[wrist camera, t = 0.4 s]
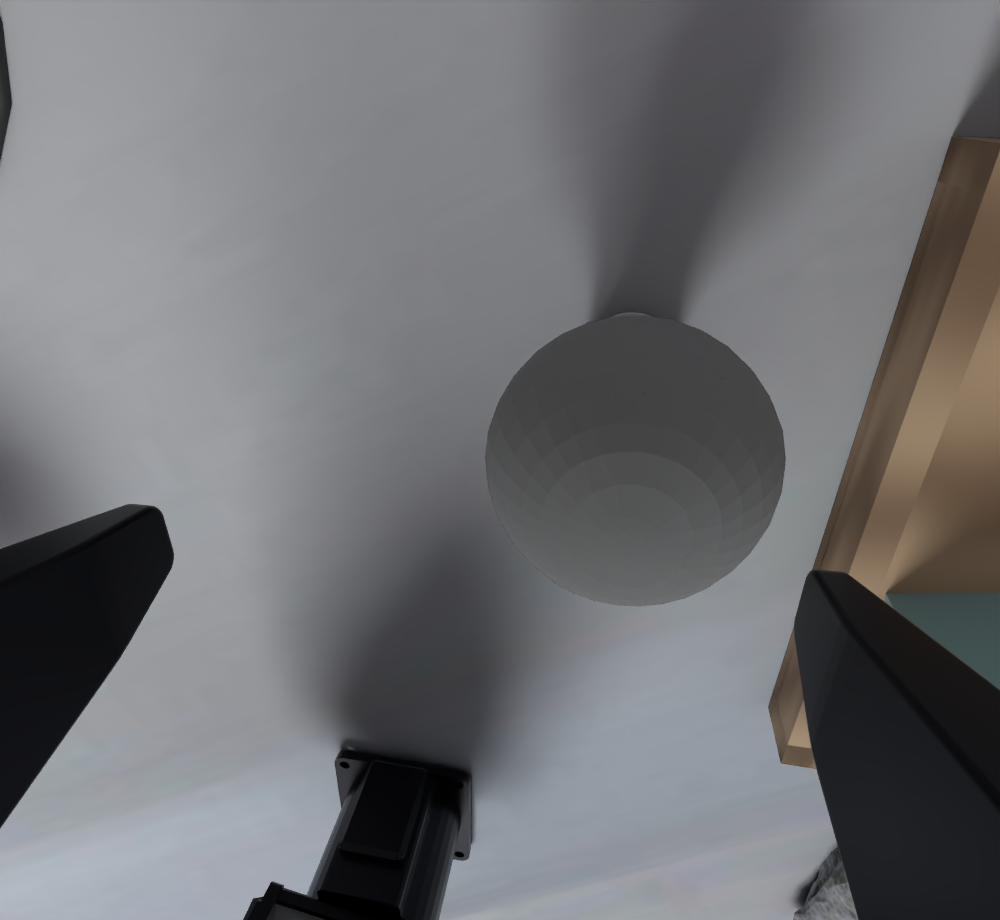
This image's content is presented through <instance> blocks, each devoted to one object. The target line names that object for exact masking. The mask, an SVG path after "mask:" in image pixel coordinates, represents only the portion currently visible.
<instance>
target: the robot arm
mask: <svg viewBox="0 0 1000 920" xmlns="http://www.w3.org/2000/svg"><path fill="white" fill-rule="evenodd" d="M173 560H174V552H173V548H172V544H171V541H170V537H169V534H168V531H167V527H166V524H165V520H164V517H163V514H162V512H161V511H160V510H159V509H158V508H156V507H155V506H148V505H138V504H128V505H124V506H121V507H118V508H115V509H113V510H110V511H107V512H104V513H101V514H98V515H96V516H93V517H90V518H87V519H84V520H81V521H78V522H76V523H73V524H70V525H67V526H64V527H61V528H58V529H56V530H53V531H50V532H47V533H44V534H41V535H39V536H36V537H33V538H30V539H27V540H24V541H21V542H19V543H16V544H13V545H10V546H7V547H4V548H1V549H0V828H1V827H2V825H3V824H4V822H5V821H6V820H7V818H8V817H9V815H10V814H11V813H12V811H13V810H14V808H15V807H16V805H17V804H18V803H19V801H20V800H21V798H22V797H23V795H24V794H25V793H26V791H27V790H28V788H29V787H30V786H31V784H32V783H33V781H34V780H35V778H36V777H37V776H38V774H39V773H40V771H41V770H42V769H43V767H44V766H45V764H46V763H47V761H48V760H49V759H50V757H51V756H52V754H53V753H54V751H55V750H56V749H57V747H58V746H59V744H60V743H61V742H62V740H63V739H64V737H65V736H66V734H67V733H68V732H69V730H70V729H71V727H72V726H73V725H74V723H75V722H76V720H77V719H78V717H79V716H80V715H81V713H82V712H83V710H84V709H85V707H86V706H87V705H88V703H89V702H90V700H91V699H92V698H93V696H94V695H95V693H96V692H97V690H98V689H99V688H100V686H101V685H102V683H103V682H104V680H105V679H106V678H107V676H108V675H109V673H110V672H111V671H112V669H113V668H114V666H115V665H116V663H117V662H118V660H119V659H120V657H121V656H122V654H123V652H124V651H125V649H126V647H127V646H128V644H129V642H130V641H131V639H132V637H133V635H134V633H135V632H136V630H137V628H138V626H139V625H140V623H141V621H142V619H143V618H144V616H145V614H146V612H147V611H148V609H149V607H150V605H151V604H152V602H153V600H154V598H155V597H156V595H157V593H158V591H159V590H160V588H161V586H162V584H163V582H164V581H165V579H166V577H167V575H168V574H169V572H170V570H171V568H172V565H173ZM794 639H795V646H796V653H797V659H798V666H799V673H800V679H801V686H802V693H803V699H804V706H805V713H806V719H807V726H808V732H809V738H810V744H811V749H812V753H813V757H814V761H815V765H816V769H817V773H818V776H819V780H820V783H821V787H822V791H823V794H824V798H825V801H826V805H827V809H828V812H829V816H830V820H831V823H832V827H833V830H834V834H835V838H836V841H837V845H838V849H839V852H840V856H841V859H842V863H843V867H844V870H845V874H846V877H847V881H848V885H849V888H850V892H851V896H852V899H853V903H854V906H855V910H856V914H857V917H858V920H1000V689H998V688H997V687H996V686H994V685H993V684H992V683H990V682H989V681H988V680H986V679H985V678H984V677H983V676H981V675H980V674H979V673H977V672H976V671H975V670H973V669H972V668H971V667H969V666H968V665H967V664H965V663H964V662H963V661H962V660H960V659H959V658H958V657H956V656H955V655H954V654H952V653H951V652H950V651H948V650H947V649H946V648H945V647H943V646H942V645H941V644H939V643H938V642H937V641H935V640H934V639H933V638H931V637H930V636H929V635H928V634H926V633H925V632H924V631H922V630H921V629H920V628H918V627H917V626H916V625H914V624H913V623H912V622H911V621H909V620H908V619H907V618H905V617H904V616H903V615H901V614H900V613H899V612H897V611H896V610H895V609H893V608H892V607H891V606H890V605H888V604H887V603H886V602H884V601H883V600H882V599H880V598H879V597H878V596H876V595H875V594H874V593H873V592H871V591H870V590H869V589H867V588H866V587H865V586H863V585H862V584H861V583H859V582H858V581H857V580H856V579H854V578H853V577H852V576H850V575H849V574H847V573H845V572H841V571H829V570H819V569H814V570H812V571H811V572H809V574H808V575H807V577H806V580H805V584H804V587H803V591H802V595H801V599H800V602H799V606H798V610H797V613H796V617H795V622H794ZM335 769H336V775H337V782H338V789H339V795H340V802H341V811H340V814H339V816H338V819H337V821H336V824H335V826H334V829H333V831H332V834H331V836H330V839H329V841H328V844H327V846H326V848H325V851H324V853H323V856H322V858H321V861H320V863H319V866H318V868H317V871H316V873H315V876H314V878H313V881H312V883H311V886H310V888H309V891H308V893H307V895H304V894H301V893H298V892H295V891H292V890H289V889H285V888H284V885H282V884H279V883H276V882H271V883H270V885H269V887H268V889H267V891H266V893H265V895H264V897H259V898H254V899H253V900H252V902H251V904H250V907H249V909H248V911H247V913H246V915H245V917H244V919H243V920H439V917H440V913H441V908H442V904H443V900H444V895H445V891H446V887H447V882H448V878H449V874H450V870H451V865H452V861H453V859H455V860H462V861H463V860H467V859H468V858H469V854H470V850H471V777H470V775H469V774H468V773H466V772H464V771H461V770H455V769H449V768H444V767H438V766H432V765H426V764H420V763H414V762H409V761H403V760H397V759H391V758H385V757H380V756H374V755H368V754H362V753H356V752H351V751H341V752H339V753H338V755H337V758H336V760H335Z"/></svg>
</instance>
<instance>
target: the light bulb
mask: <svg viewBox="0 0 1000 920" xmlns="http://www.w3.org/2000/svg"><path fill="white" fill-rule="evenodd" d="M485 457H486V470H487V479H488V488H489V491H490V495H491V498H492V501H493V504H494V507H495V510H496V513H497V516H498V518H499V520H500V522H501V524H502V525H503V527H504V529H505V531H506V532H507V534H508V536H509V537H510V539H511V541H512V542H513V544H514V545H515V547H516V548H517V549H518V550H519V551H520V552H521V553H522V555H523V556H524V557H525V558H526V559H527V560H528V561H529V563H530V564H531V565H533V566H534V567H535V568H536V569H538V570H539V571H540V572H541V573H543V574H544V575H545V576H546V577H548V578H549V579H550V580H551V581H553V582H554V583H556V584H558V585H559V586H561V587H563V588H565V589H567V590H568V591H570V592H572V593H574V594H577V595H580V596H583V597H585V598H588V599H591V600H594V601H598V602H603V603H608V604H613V605H624V606H647V605H657V604H665V603H668V602H672V601H676V600H680V599H683V598H687V597H689V596H691V595H693V594H695V593H698V592H700V591H702V590H704V589H707V588H708V587H710V586H711V585H713V584H714V583H716V582H717V581H718V580H720V579H721V578H723V577H724V576H726V575H727V574H729V573H730V572H732V571H733V570H734V569H735V568H736V567H737V566H738V565H739V564H740V563H741V562H742V561H743V560H744V559H745V558H746V557H747V556H748V555H749V554H750V553H751V551H752V550H753V549H754V547H755V546H756V544H757V543H758V541H759V540H760V538H761V537H762V535H763V534H764V532H765V531H766V529H767V528H768V526H769V525H770V522H771V519H772V517H773V514H774V512H775V509H776V506H777V504H778V501H779V498H780V495H781V492H782V485H783V478H784V470H785V458H786V457H785V448H784V438H783V430H782V427H781V425H780V422H779V419H778V416H777V414H776V411H775V408H774V406H773V403H772V401H771V399H770V397H769V395H768V393H767V392H766V390H765V389H764V387H763V385H762V384H761V382H760V381H759V379H758V378H757V376H756V375H755V373H754V372H753V371H752V370H751V369H750V367H749V366H748V365H747V364H746V363H744V362H743V361H742V360H741V359H740V358H739V357H738V356H737V355H736V354H735V353H734V352H733V351H732V350H731V349H730V348H729V347H728V346H726V345H725V344H723V343H721V342H720V341H718V340H717V339H715V338H713V337H712V336H710V335H708V334H707V333H705V332H703V331H702V330H699V329H697V328H694V327H691V326H688V325H686V324H683V323H680V322H677V321H675V320H671V319H664V318H658V317H652V316H650V315H647V314H644V313H637V312H626V313H621V314H617V315H614V316H612V317H610V318H606V319H602V320H598V321H593V322H589V323H586V324H584V325H582V326H579V327H577V328H575V329H573V330H570V331H568V332H566V333H564V334H562V335H560V336H558V337H557V338H555V339H554V340H553V341H551V342H550V343H548V344H547V345H545V346H544V347H543V348H541V349H540V350H538V351H537V352H536V353H535V354H534V355H533V356H532V357H531V358H530V359H529V360H528V361H527V362H526V363H525V365H524V366H523V367H522V368H521V369H520V370H519V371H518V372H517V373H516V374H515V376H514V377H513V379H512V380H511V382H510V384H509V385H508V387H507V388H506V390H505V392H504V393H503V395H502V397H501V398H500V400H499V403H498V405H497V408H496V410H495V413H494V416H493V419H492V422H491V425H490V428H489V431H488V438H487V447H486V456H485Z"/></svg>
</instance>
